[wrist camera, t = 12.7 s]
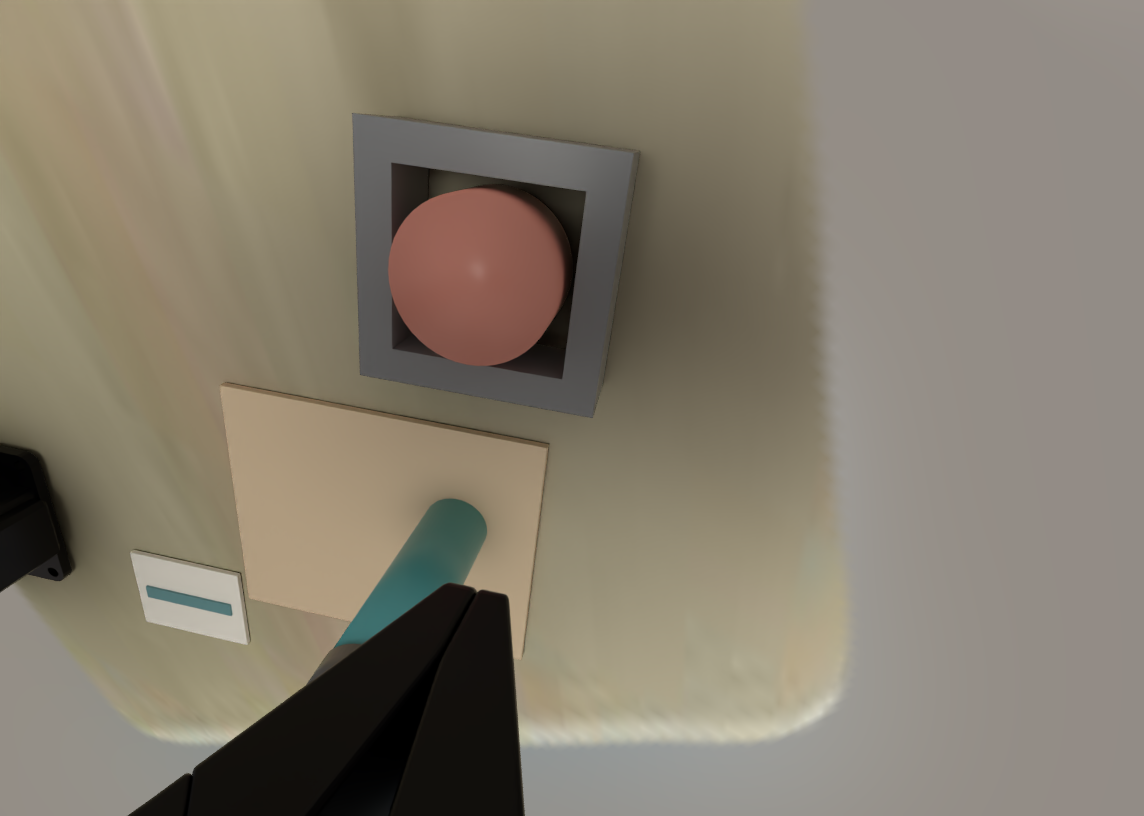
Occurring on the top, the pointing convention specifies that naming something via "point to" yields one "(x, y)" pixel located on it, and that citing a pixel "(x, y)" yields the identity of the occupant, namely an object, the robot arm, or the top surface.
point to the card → (191, 596)
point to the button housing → (410, 147)
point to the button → (480, 273)
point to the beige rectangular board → (370, 499)
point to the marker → (417, 571)
